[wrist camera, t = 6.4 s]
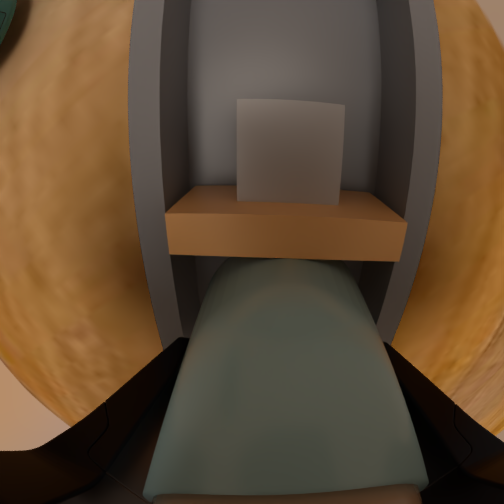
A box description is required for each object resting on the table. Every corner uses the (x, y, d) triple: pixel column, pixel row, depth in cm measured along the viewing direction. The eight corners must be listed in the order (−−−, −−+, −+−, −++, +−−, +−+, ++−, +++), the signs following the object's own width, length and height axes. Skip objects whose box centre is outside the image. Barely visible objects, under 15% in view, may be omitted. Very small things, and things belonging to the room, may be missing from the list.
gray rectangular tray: (359, 327, 14) (376, 376, 11) (188, 322, 14) (170, 372, 11) (385, -23, 6) (417, -55, 3) (177, -33, 7) (149, -71, 3)
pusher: (365, 221, 10) (399, 261, 7) (197, 215, 11) (169, 254, 8) (375, 115, 9) (420, 114, 5) (193, 106, 9) (158, 99, 6)
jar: (341, 361, 11) (370, 538, 4) (211, 358, 11) (172, 539, 4) (372, 242, 9) (502, 479, 1) (200, 235, 9) (72, 500, 2)
